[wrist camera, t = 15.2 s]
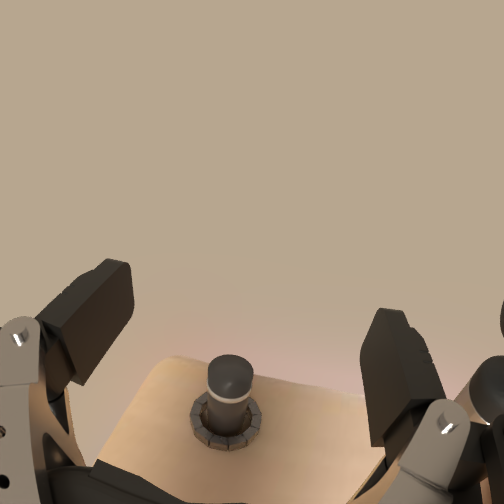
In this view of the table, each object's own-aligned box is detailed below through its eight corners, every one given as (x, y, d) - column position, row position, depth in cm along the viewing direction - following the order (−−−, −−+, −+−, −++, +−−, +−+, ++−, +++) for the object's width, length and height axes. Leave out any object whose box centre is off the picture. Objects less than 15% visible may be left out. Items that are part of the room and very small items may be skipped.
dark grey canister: (246, 412, 39) (257, 358, 33) (240, 441, 34) (250, 392, 29) (211, 405, 39) (213, 350, 34) (202, 433, 34) (201, 382, 29)
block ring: (262, 403, 40) (264, 395, 40) (253, 456, 32) (255, 450, 31) (200, 390, 41) (200, 382, 40) (183, 441, 33) (182, 434, 32)
